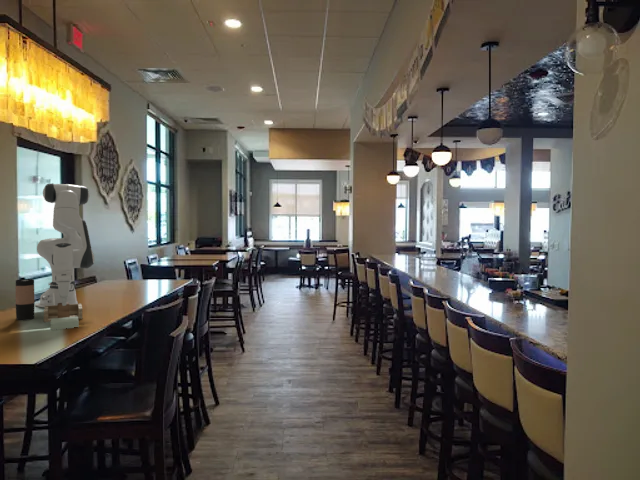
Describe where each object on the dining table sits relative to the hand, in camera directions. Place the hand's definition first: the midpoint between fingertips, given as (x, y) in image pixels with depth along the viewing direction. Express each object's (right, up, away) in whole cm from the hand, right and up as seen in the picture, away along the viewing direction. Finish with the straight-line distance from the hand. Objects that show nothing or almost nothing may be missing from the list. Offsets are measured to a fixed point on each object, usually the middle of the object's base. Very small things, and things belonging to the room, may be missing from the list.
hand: (64, 304), depth 217 cm
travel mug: (-17, -8, -3) cm, 19 cm away
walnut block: (-1, -7, +1) cm, 7 cm away
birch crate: (-1, -8, +1) cm, 8 cm away
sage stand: (+8, -8, -13) cm, 18 cm away
